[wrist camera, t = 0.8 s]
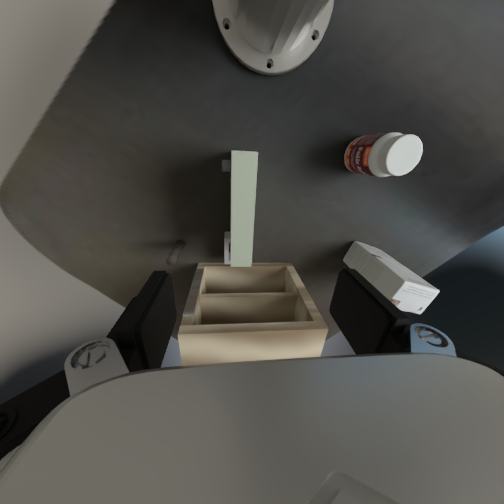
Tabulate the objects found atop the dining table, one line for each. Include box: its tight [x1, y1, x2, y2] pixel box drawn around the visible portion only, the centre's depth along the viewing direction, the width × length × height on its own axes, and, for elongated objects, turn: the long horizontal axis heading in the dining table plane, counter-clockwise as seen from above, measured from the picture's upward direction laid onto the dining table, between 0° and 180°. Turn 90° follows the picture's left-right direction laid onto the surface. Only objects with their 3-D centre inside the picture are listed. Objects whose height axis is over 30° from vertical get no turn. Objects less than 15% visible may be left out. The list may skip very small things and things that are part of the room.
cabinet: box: [166, 240, 328, 366], centre depth 30 cm, size 16×19×15 cm
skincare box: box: [343, 241, 439, 314], centre depth 31 cm, size 6×4×12 cm
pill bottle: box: [344, 132, 423, 177], centre depth 25 cm, size 5×5×8 cm
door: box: [222, 150, 258, 267], centre depth 26 cm, size 16×4×10 cm, turn 177°
